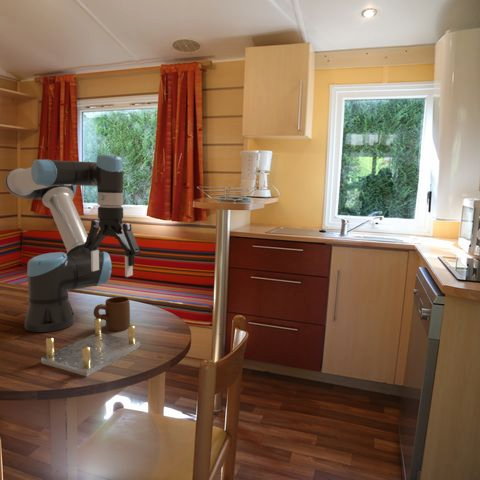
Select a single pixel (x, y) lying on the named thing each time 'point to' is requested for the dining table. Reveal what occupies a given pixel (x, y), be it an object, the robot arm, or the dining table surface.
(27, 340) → the dining table surface
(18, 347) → the dining table surface
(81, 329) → the dining table surface
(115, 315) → the mug
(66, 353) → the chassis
